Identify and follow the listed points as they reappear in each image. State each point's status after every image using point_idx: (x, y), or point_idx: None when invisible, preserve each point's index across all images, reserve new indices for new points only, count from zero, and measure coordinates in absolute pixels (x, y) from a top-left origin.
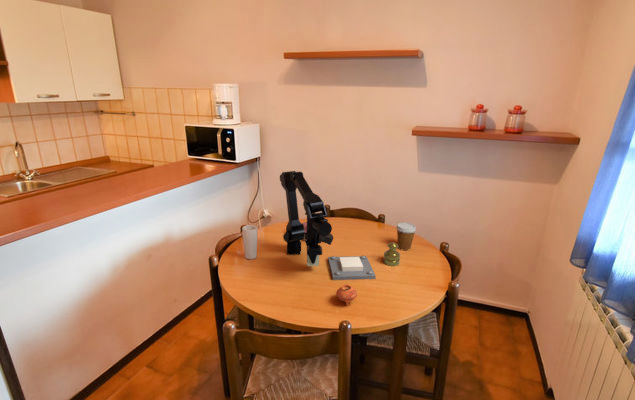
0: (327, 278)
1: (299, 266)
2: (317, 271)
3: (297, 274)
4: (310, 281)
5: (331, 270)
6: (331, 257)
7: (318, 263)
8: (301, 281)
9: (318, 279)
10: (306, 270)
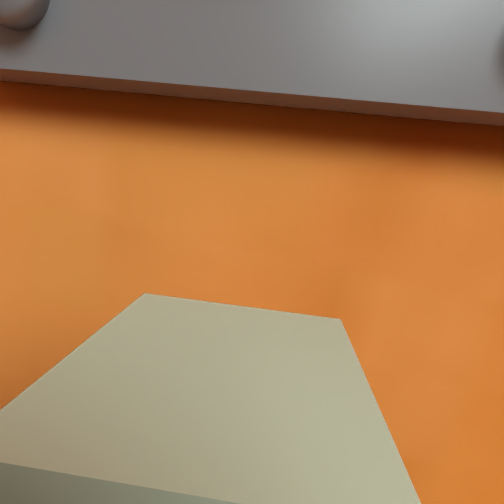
0: (496, 201)
1: None
2: (291, 288)
3: None
4: (499, 410)
5: (375, 104)
6: (1, 8)
7: (348, 351)
8: (468, 491)
9: (484, 317)
10: None
